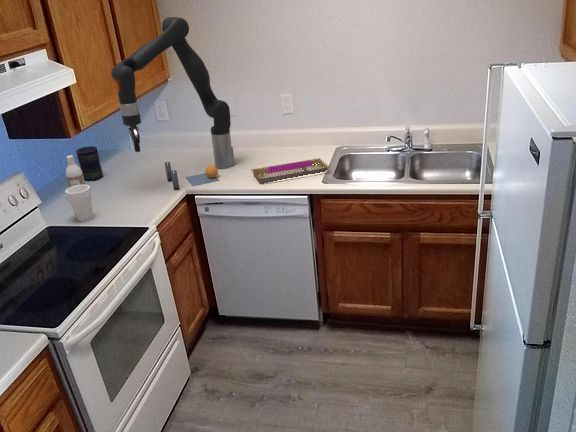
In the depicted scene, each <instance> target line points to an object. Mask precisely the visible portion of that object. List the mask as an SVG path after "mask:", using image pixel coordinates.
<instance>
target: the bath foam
mask: <svg viewBox="0 0 576 432" xmlns="http://www.w3.org/2000/svg"><path fill="white" fill-rule="evenodd" d="M74 157H75V156H74V154H73V155H71V154H70V155H67V156H66V157H65V158H66V162H67V166H66V169H65V178H66V181H67V185H68V188H70V187H72V186H76V185H86V182H85V181H84V177H83V173H82V170H81V167H80V165H78V164H76V162H75V158H74Z"/></svg>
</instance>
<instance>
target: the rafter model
mask: <svg viewBox="0 0 576 432" xmlns="http://www.w3.org/2000/svg"><path fill="white" fill-rule="evenodd" d="M315 163H316V164H317V166H315V165H316V164H315ZM318 163H319V164H318ZM312 164H314V165H312ZM319 165H320V166H321V167H322V168H321V167H320V166H319ZM323 167H324V168H323ZM300 168H302V170H304V171H302V170H301V169H300ZM329 168H330V169H331V167H330V166H329V165H328V164H327V163H326V162H325V161H323V160H322V159H321V158H313V159H308V160H302V161H296V162H294V161H293V162H290V163H283V164H277V165H271V166H263V167H258V168H253V169H250V172H252V175H254V176H253V177H254V179H255V178H256V179H255V180H256V181H257V183H258V182H259V183H258V184H259V185H260V184H262V185H265V184H264V183H268V182H273V181H277V180H282V179H287V178H293V177H298V176H303V175H308V174H315V173H320V172H325V171H326V170H328V171H329ZM296 171H297V172H296ZM284 172H285V173H284ZM264 173H265V174H264ZM266 173H267V174H266ZM259 174H260V175H259ZM267 175H268V176H269V177H268V176H267ZM268 184H269V183H268Z"/></svg>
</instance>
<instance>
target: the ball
mask: <svg viewBox="0 0 576 432" xmlns="http://www.w3.org/2000/svg"><path fill="white" fill-rule="evenodd" d="M218 169H219V168H216V167H215V165H212V164H211V165H208V166H207V167H206V168H205V170H204V171H205V172H204V173H206V175H207V176H208V177H209V178H214V177H217V176H218V173H219V170H218Z"/></svg>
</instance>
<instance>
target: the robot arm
mask: <svg viewBox="0 0 576 432" xmlns="http://www.w3.org/2000/svg"><path fill="white" fill-rule="evenodd" d="M161 30H162V33H161V34H160V35H158V36H157V37H155V38H154V39H152V40H150V41H148V42H147V43H145V44H143V45H142V46H140V47H139V48H138V49H136V50H135V51H134V52H133V53H131V54H130V55H129V56H128V57H126V58H124V59H123V60H121V61H119V62H118V63H117V64H116V65H114V66H113V68H112V70H111V77H112V79H113V80H114V81H116V82H118V83H119V90H118V91H117V95H118V100H119V107H120V113H121V118H122V124H123V126H125V127H127V126H129V127H128V128H127V129H128V132H129V135H130V136H129V137H130V138H131V141H132V144H133V147H134V151H135V153H139V152H141V145H140V144H141V140H140V138H141V137H140V129H139V127H138V126H137V125H140V124H141V123H142V118H141V113H140V109H139V105H138V100H137V95H136V76H135V72H137V71H142V70H143V69H145V67H147V66H148V65H149V64H151V62H152V61H153V60H155V59H156V58H157V57H158V56H160V55H161V54H162V53H163V52H165V51H166V50H168V49H169V48H170V47H172V48H173V51H174V52H175V54H176V56H177V58H178V60H179V61H180V64H181V65H182V68H184V71H185V73H186V75H187V77H188V79H189V81H190V82H191V84H192V86H193V88H194V90H195V92H196V94H198V97H199V99H200V102H201V104H202V107H203V108H204V111H205V113H206V115H207V116H208V117H209V118H211V119H213V126H211V128H210V135H211V143H212V150H213V157H214V158H213V159H214V166H215V167H216V168H217V169H228V168H231V167H233V166H235V165H236V163H235V162H236V161H235V154H234V147H233V146H232V139H231V130H230V129H231V126H232V125H231V124H232V123H231V122H232V121H231V110H230V106H229V104H228V103H227V102H226V101H224V100H221V99H218V98H217V96H216V95H215V93H214V91H213V90H212V86H211V78H210V73H209V71H208V69H207V66H206V65H205V63H204V61H203V59H202V58H201V57H200V56H199V54H198V53H197V52H196V51H195V50H194V49H193V48H192V47H191V45H189V44H190V43H189V42H188V41H187V38H186V37H188V35H189V32H190V26H189V23H188V22H187V20H186V19H185V18H182V17H178V16H173V17H172V16H170V17H169V16H167V17H166V18H164V19H163V21H162V23H161Z"/></svg>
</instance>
